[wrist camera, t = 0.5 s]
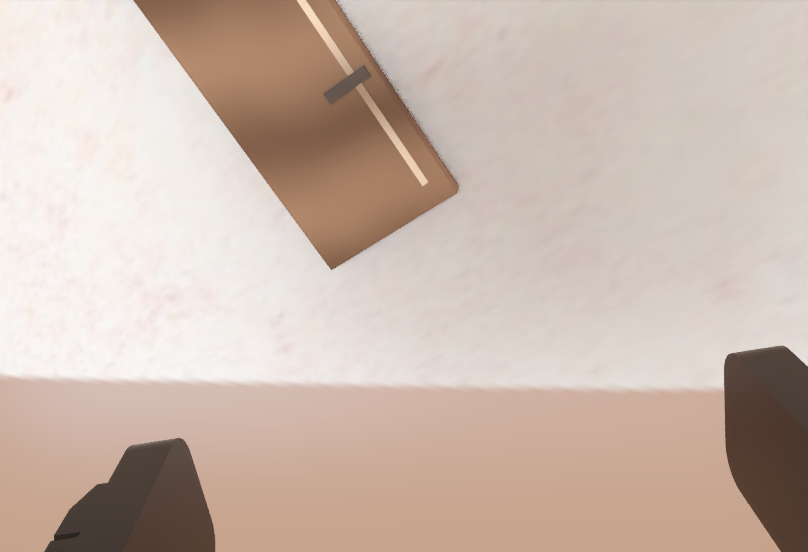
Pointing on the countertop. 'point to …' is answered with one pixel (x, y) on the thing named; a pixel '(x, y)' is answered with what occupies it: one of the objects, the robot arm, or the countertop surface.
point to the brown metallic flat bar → (309, 114)
